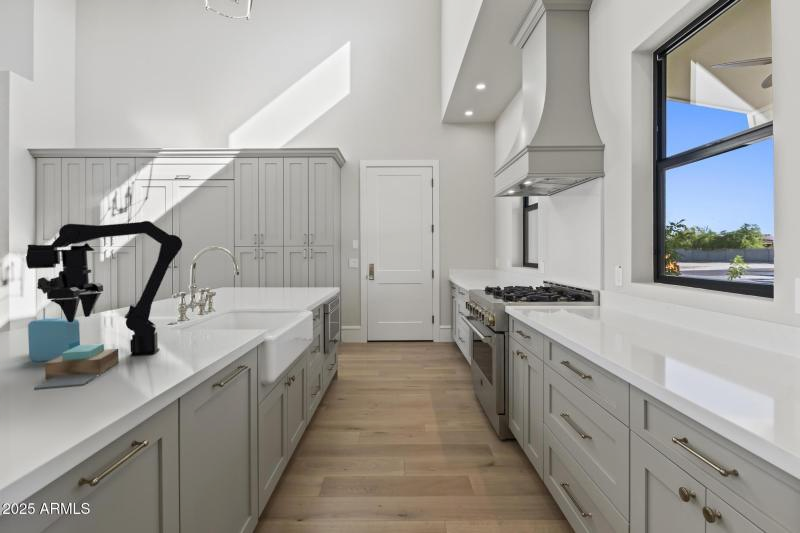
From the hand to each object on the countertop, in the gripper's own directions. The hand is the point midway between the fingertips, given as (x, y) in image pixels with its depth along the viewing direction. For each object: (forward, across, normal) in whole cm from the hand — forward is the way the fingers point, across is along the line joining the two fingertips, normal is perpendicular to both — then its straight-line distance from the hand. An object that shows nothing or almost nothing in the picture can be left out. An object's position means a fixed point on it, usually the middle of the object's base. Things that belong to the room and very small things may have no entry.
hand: (79, 319), depth 118 cm
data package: (+12, -4, -9) cm, 16 cm away
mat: (+12, +21, +7) cm, 26 cm away
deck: (+12, +11, +6) cm, 18 cm away
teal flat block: (+8, +11, +6) cm, 15 cm away
